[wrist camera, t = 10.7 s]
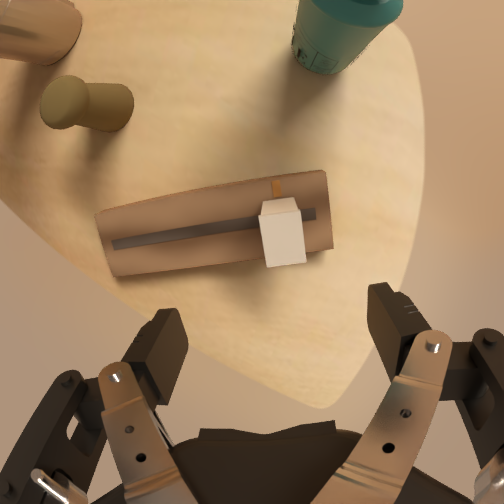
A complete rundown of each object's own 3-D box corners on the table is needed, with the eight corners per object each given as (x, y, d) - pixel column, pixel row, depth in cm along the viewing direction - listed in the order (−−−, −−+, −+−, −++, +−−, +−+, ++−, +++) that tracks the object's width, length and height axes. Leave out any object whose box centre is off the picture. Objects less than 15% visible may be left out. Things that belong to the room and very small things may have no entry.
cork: (113, 142, 30) (53, 147, 19) (84, 115, 28) (23, 114, 18) (143, 100, 28) (89, 87, 18) (111, 75, 27) (54, 58, 16)
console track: (104, 209, 33) (93, 215, 30) (321, 169, 29) (325, 172, 27) (121, 268, 35) (112, 277, 33) (329, 241, 32) (333, 249, 30)
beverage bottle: (361, 61, 25) (460, -18, 6) (316, 91, 26) (381, 16, 8) (322, 18, 23) (370, -96, 4) (275, 47, 25) (275, -70, 6)
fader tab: (261, 200, 28) (258, 217, 22) (294, 195, 28) (300, 211, 22) (268, 241, 30) (266, 267, 24) (299, 236, 29) (306, 262, 23)
